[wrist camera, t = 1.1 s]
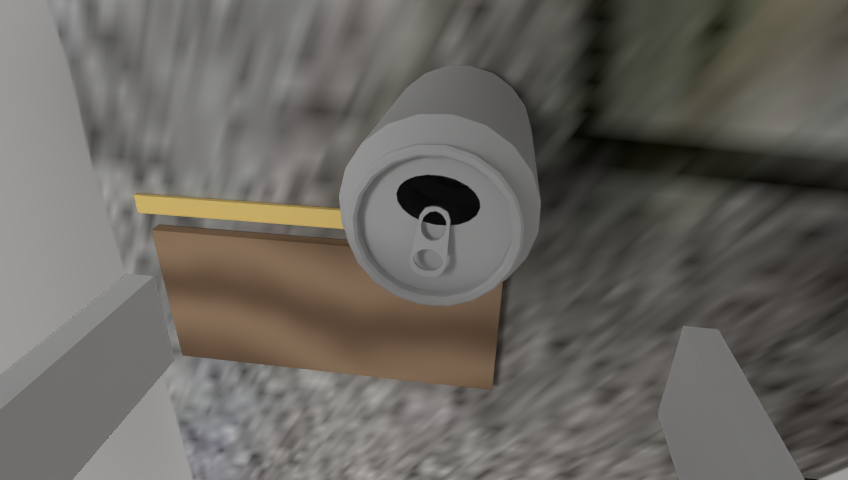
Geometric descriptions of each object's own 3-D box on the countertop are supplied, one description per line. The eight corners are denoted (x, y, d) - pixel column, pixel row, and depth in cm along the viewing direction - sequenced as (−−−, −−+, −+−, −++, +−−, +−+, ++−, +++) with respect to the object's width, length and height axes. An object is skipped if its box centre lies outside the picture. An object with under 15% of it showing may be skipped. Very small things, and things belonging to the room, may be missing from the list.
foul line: (136, 193, 33) (133, 195, 33) (526, 222, 31) (526, 224, 30) (141, 210, 34) (138, 212, 34) (523, 240, 31) (524, 243, 31)
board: (158, 224, 34) (151, 230, 34) (505, 252, 32) (505, 259, 31) (188, 348, 39) (182, 355, 38) (492, 381, 36) (492, 389, 36)
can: (546, 74, 27) (569, 149, 16) (514, 208, 30) (517, 341, 20) (399, 50, 27) (329, 108, 17) (385, 186, 31) (321, 303, 20)
